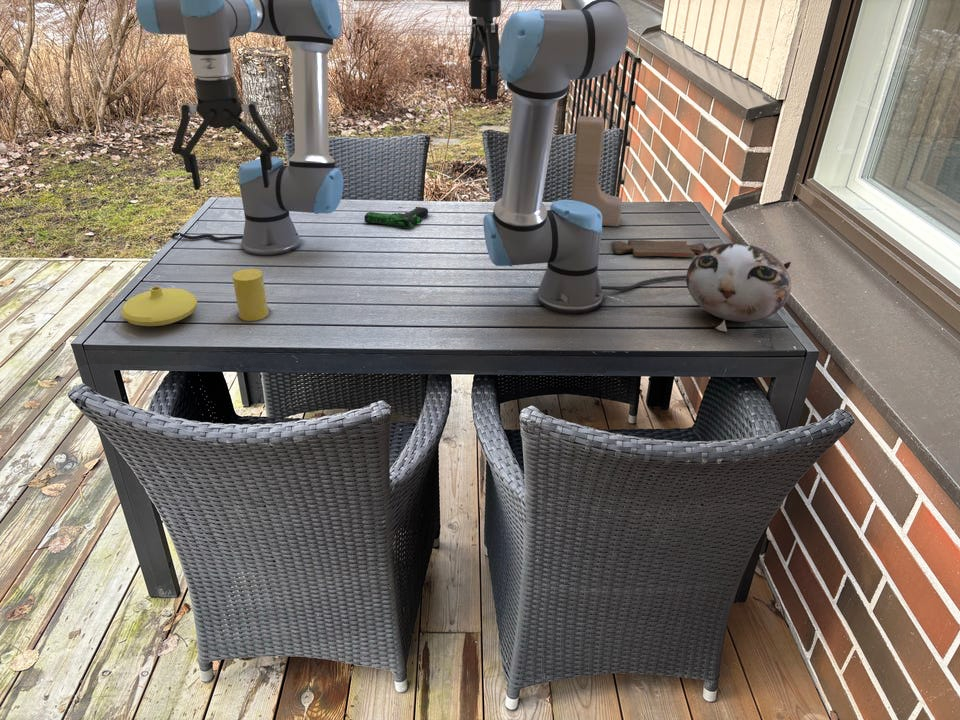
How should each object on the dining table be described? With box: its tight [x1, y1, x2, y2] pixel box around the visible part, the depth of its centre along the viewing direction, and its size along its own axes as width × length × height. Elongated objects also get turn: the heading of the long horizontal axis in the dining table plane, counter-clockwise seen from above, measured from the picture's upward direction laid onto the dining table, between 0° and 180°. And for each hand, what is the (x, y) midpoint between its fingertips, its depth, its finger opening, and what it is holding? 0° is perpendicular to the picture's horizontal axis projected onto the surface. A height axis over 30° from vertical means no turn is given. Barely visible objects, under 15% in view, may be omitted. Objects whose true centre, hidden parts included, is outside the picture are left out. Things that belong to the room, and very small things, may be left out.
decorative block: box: [570, 115, 623, 227], centre depth 209 cm, size 8×15×30 cm, turn 82°
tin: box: [231, 268, 269, 322], centre depth 159 cm, size 6×6×10 cm
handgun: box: [363, 206, 429, 230], centre depth 215 cm, size 16×3×15 cm
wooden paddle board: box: [611, 239, 706, 258], centre depth 197 cm, size 26×2×10 cm
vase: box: [120, 286, 198, 327], centre depth 157 cm, size 16×16×7 cm
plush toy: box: [685, 242, 792, 332], centre depth 158 cm, size 22×18×20 cm
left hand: (232, 187), depth 146 cm, fingers open, 13 cm apart
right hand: (483, 94), depth 176 cm, fingers open, 13 cm apart
